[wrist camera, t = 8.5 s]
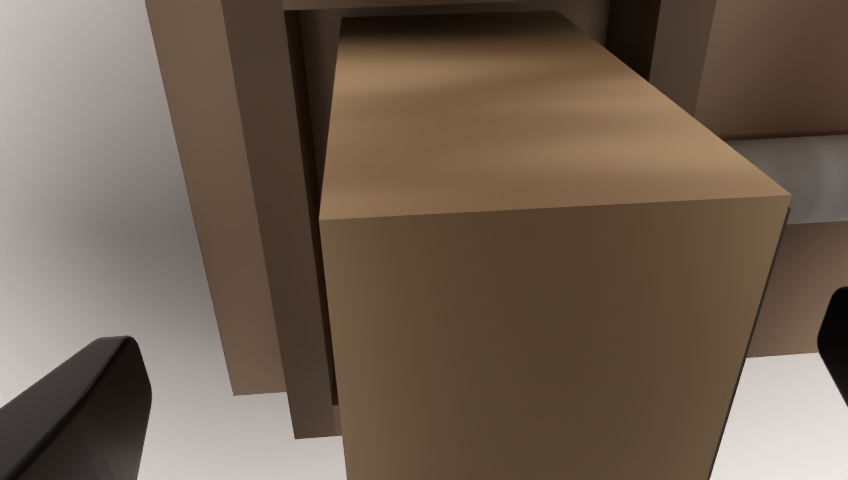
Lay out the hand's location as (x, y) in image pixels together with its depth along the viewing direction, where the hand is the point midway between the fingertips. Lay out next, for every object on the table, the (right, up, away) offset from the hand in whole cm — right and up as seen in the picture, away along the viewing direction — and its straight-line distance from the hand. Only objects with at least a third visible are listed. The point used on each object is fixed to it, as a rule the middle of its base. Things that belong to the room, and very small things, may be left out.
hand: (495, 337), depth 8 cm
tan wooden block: (0, +2, +4) cm, 5 cm away
